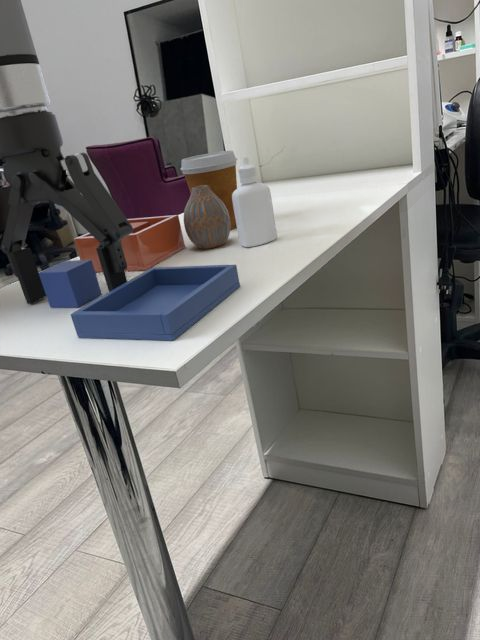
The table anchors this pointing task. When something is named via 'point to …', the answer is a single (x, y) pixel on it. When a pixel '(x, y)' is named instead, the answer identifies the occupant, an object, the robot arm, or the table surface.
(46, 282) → the blue block
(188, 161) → the disposable coffee cup
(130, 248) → the terracotta bin
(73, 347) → the table surface
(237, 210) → the eye dropper bottle
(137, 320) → the blue tray
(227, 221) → the vase
